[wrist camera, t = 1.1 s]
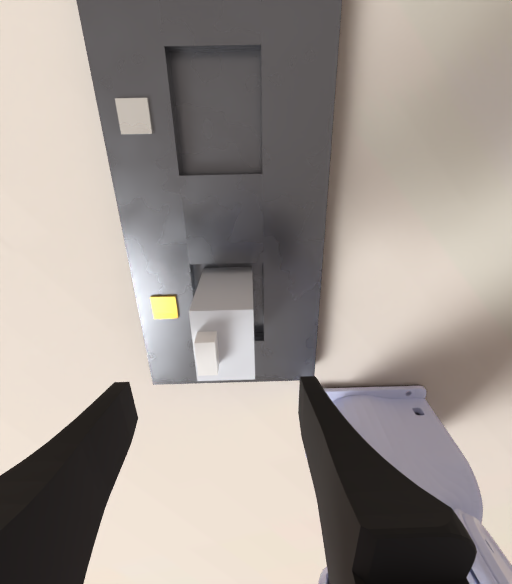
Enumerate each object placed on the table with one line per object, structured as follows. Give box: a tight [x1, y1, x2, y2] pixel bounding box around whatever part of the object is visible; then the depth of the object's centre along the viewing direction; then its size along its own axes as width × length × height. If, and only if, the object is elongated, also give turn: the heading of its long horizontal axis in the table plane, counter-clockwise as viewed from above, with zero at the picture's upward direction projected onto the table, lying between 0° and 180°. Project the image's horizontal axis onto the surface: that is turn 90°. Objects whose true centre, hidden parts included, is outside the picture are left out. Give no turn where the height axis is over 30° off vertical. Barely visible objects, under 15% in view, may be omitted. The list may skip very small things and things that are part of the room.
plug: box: [189, 267, 255, 381], centre depth 19 cm, size 3×4×7 cm
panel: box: [77, 0, 342, 385], centre depth 19 cm, size 12×24×2 cm, turn 1°
